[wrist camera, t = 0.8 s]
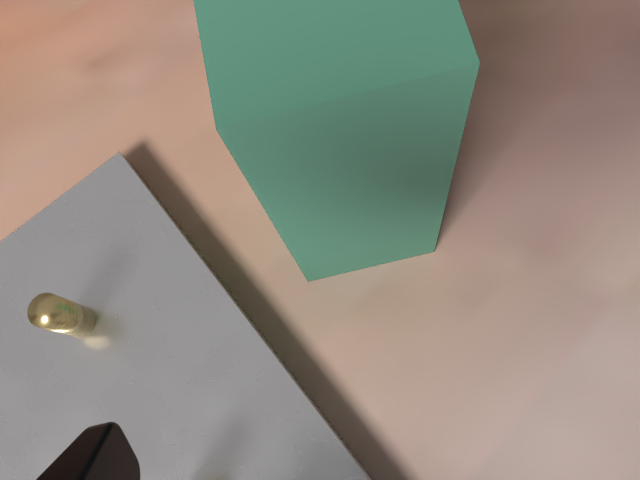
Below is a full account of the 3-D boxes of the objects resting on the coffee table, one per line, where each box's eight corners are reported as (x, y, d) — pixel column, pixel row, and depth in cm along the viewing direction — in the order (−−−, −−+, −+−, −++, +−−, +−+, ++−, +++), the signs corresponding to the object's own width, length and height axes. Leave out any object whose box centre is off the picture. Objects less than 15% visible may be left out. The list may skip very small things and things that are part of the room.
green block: (434, 251, 23) (480, 62, 11) (307, 281, 23) (216, 129, 11) (401, 137, 24) (409, -137, 12) (283, 167, 24) (180, -75, 13)
